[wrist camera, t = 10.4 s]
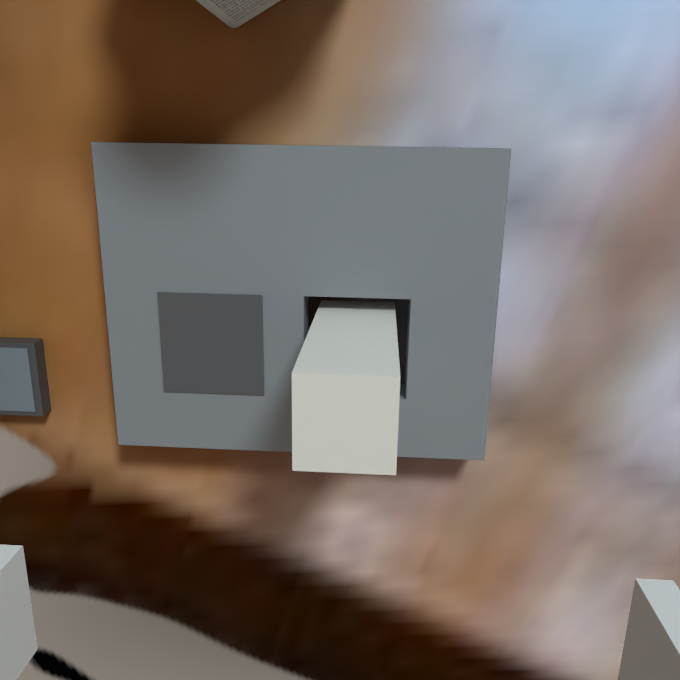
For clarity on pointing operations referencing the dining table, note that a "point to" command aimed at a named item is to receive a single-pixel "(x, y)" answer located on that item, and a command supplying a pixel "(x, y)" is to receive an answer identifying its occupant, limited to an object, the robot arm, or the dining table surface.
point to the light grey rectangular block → (347, 390)
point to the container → (236, 9)
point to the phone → (23, 377)
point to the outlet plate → (294, 282)
